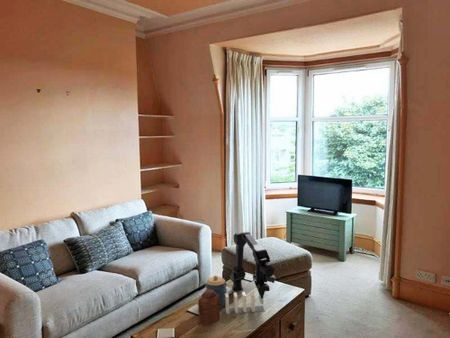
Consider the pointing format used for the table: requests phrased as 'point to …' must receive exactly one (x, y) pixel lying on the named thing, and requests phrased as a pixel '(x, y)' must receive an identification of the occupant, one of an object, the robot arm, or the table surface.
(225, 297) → the domino
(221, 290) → the canister
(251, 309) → the domino
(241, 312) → the mat
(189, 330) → the table surface
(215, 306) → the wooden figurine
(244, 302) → the domino
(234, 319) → the table surface
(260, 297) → the domino
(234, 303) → the domino
